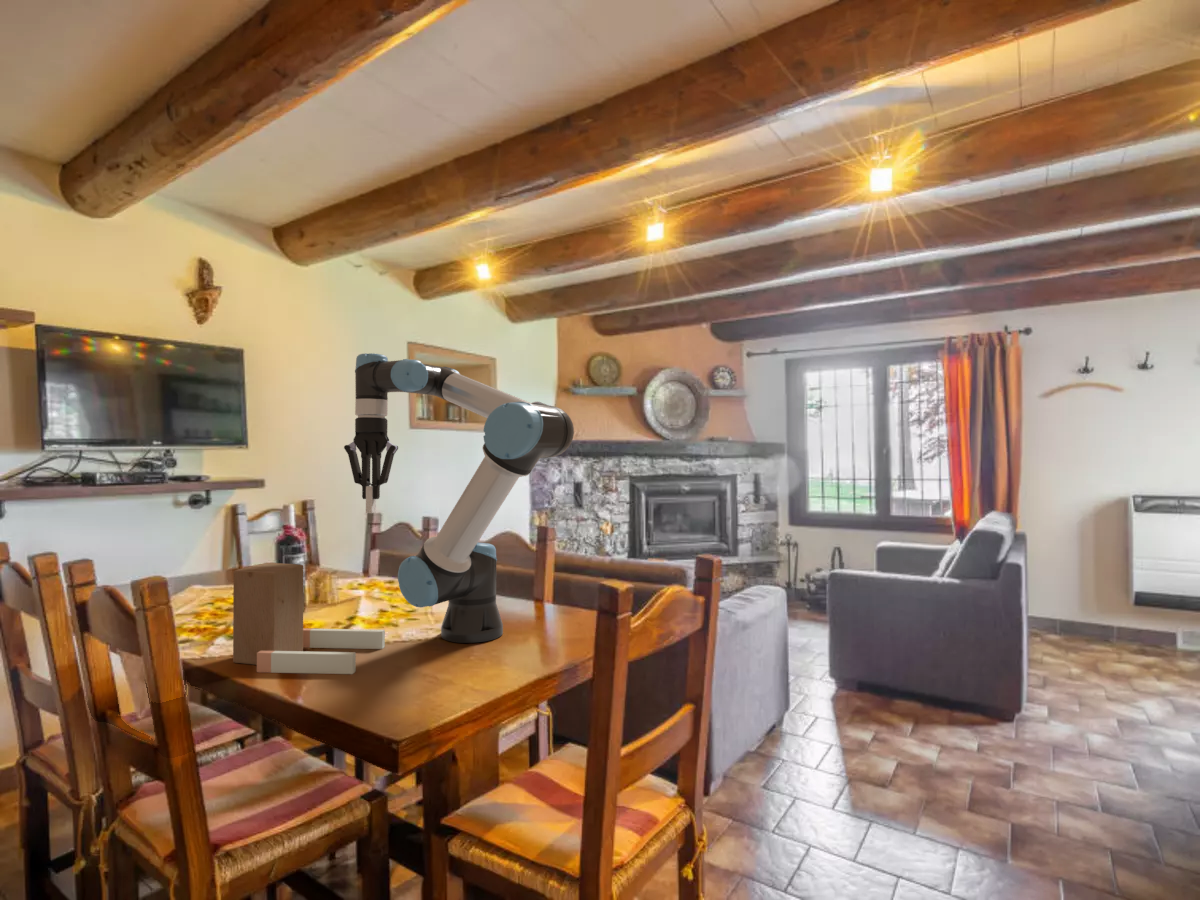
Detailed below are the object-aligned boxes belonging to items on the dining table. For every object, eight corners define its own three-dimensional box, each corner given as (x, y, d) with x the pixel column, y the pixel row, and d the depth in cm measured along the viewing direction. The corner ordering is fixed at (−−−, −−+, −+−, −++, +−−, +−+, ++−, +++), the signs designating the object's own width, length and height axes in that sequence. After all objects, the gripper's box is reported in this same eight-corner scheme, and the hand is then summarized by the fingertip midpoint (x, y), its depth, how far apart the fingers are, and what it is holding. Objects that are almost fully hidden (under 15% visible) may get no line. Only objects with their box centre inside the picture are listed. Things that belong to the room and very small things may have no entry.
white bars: (384, 646, 150) (384, 629, 150) (352, 674, 132) (352, 654, 132) (300, 645, 150) (300, 628, 150) (256, 672, 132) (256, 652, 132)
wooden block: (272, 667, 136) (272, 572, 135) (231, 663, 138) (232, 570, 138) (303, 652, 145) (304, 564, 145) (266, 649, 148) (266, 562, 147)
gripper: (402, 418, 162) (402, 511, 162) (351, 417, 163) (351, 510, 163) (392, 416, 155) (391, 514, 155) (338, 416, 155) (338, 513, 155)
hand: (370, 512), depth 159 cm, fingers closed
